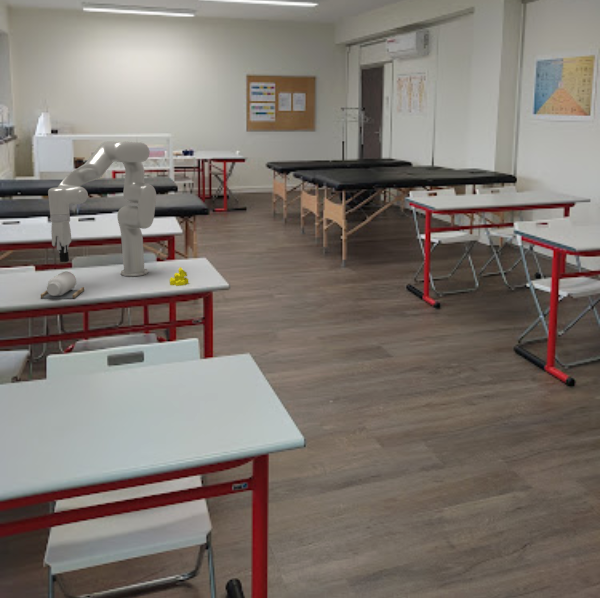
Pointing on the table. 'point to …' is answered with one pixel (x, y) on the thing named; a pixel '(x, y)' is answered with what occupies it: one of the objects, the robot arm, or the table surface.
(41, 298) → the rails
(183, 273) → the yellow lumpy pyramid
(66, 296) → the grey tray
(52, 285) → the pill bottle
